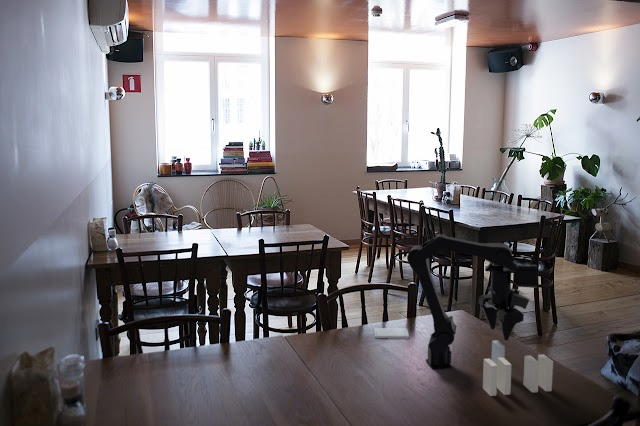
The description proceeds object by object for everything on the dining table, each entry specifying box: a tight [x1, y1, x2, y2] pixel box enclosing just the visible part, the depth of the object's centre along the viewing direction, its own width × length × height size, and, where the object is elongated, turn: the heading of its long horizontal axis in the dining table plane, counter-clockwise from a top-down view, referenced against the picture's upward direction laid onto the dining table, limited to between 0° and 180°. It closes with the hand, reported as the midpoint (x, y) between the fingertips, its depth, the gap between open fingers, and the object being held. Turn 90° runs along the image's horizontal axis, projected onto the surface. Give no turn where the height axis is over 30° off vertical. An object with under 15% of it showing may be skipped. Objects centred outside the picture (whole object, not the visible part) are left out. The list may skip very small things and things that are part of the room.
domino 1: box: [482, 358, 498, 397], centre depth 159 cm, size 2×5×9 cm, turn 8°
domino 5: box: [537, 354, 554, 392], centre depth 162 cm, size 2×5×9 cm, turn 8°
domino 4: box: [522, 355, 539, 393], centre depth 161 cm, size 2×5×9 cm, turn 8°
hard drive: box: [373, 327, 410, 340], centre depth 205 cm, size 2×8×12 cm
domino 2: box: [490, 340, 506, 365], centre depth 173 cm, size 2×5×9 cm, turn 8°
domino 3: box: [497, 357, 512, 396], centre depth 160 cm, size 2×5×9 cm, turn 8°
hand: (499, 334), depth 171 cm, fingers open, 9 cm apart
